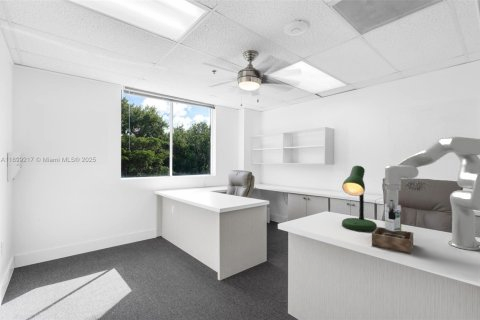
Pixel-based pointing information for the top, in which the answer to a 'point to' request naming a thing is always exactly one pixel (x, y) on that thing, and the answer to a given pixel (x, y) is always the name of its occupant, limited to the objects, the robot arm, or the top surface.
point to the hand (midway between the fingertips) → (392, 217)
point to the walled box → (393, 240)
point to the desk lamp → (357, 188)
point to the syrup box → (393, 224)
